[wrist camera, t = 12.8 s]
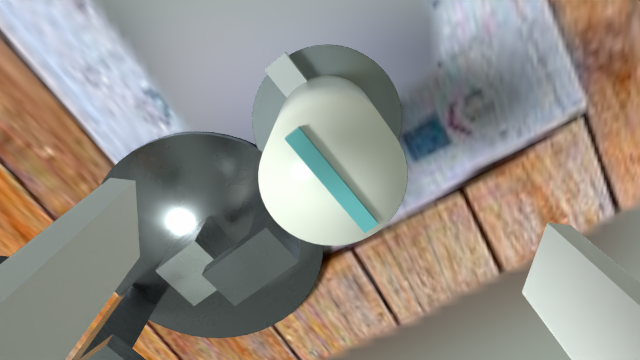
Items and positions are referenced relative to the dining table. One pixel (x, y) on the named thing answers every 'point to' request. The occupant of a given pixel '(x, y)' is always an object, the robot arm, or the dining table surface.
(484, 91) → the dining table surface
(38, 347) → the robot arm
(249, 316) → the grey hook stand
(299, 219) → the white teal-striped cylinder
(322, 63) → the coaster
